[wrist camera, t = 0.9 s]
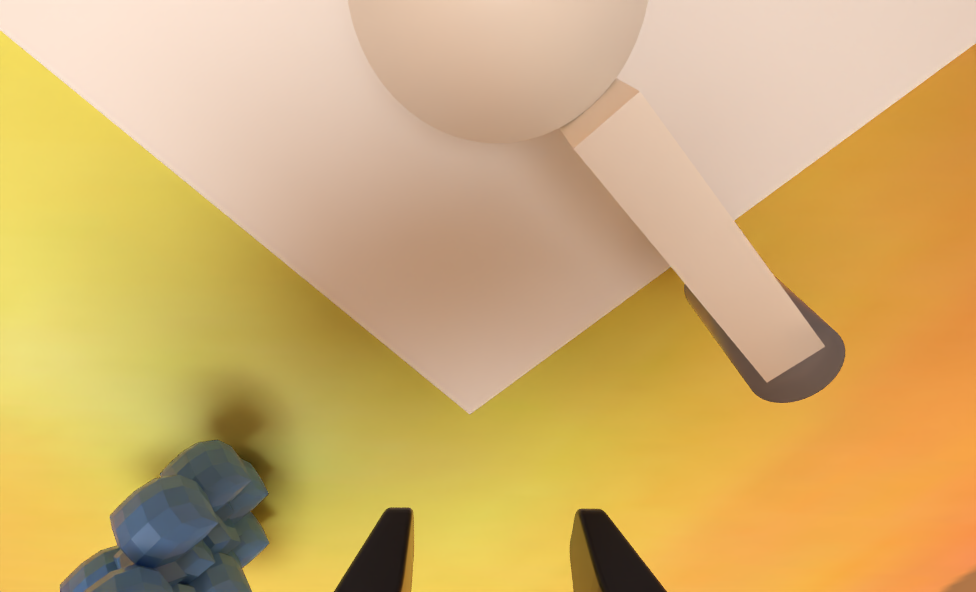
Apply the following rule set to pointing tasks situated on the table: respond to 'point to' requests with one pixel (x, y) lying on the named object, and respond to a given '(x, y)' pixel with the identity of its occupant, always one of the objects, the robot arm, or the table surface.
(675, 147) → the lock lever
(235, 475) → the grapes
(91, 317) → the table surface
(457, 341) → the lock base
